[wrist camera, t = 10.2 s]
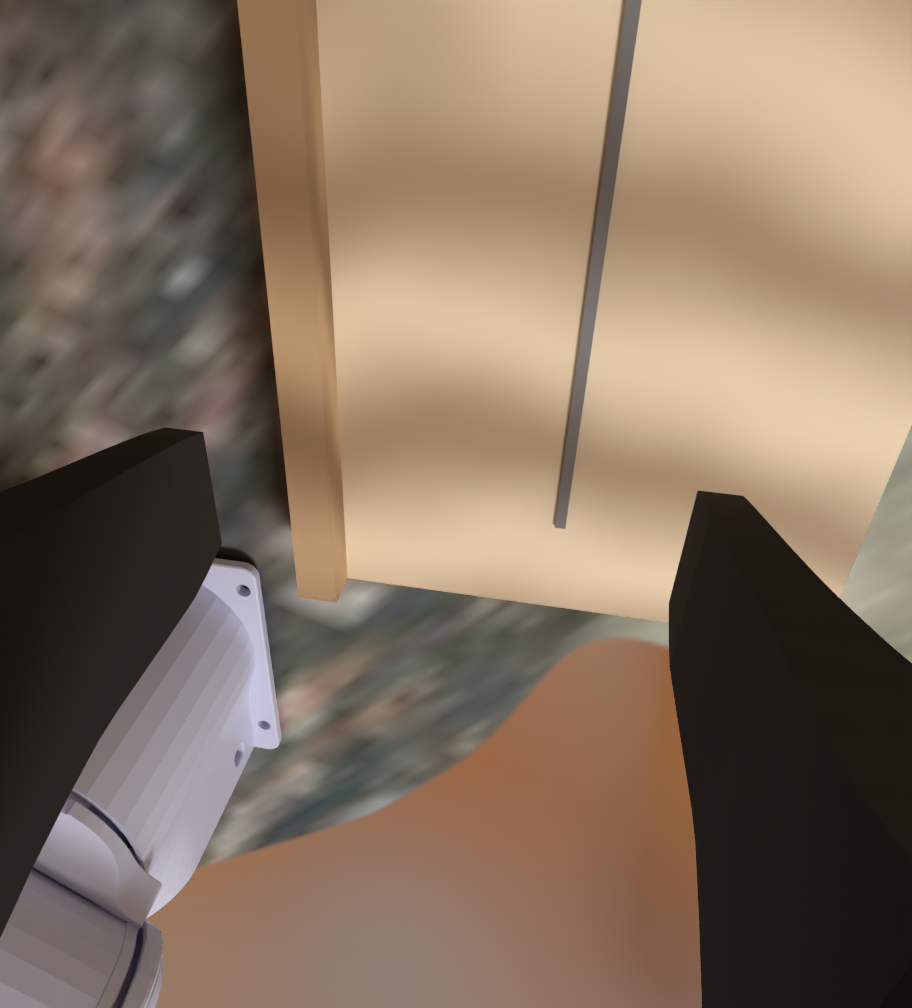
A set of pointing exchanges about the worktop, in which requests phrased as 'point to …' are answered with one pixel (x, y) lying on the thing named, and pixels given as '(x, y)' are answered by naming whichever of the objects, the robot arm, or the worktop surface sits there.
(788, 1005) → the robot arm
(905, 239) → the board
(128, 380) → the worktop surface
